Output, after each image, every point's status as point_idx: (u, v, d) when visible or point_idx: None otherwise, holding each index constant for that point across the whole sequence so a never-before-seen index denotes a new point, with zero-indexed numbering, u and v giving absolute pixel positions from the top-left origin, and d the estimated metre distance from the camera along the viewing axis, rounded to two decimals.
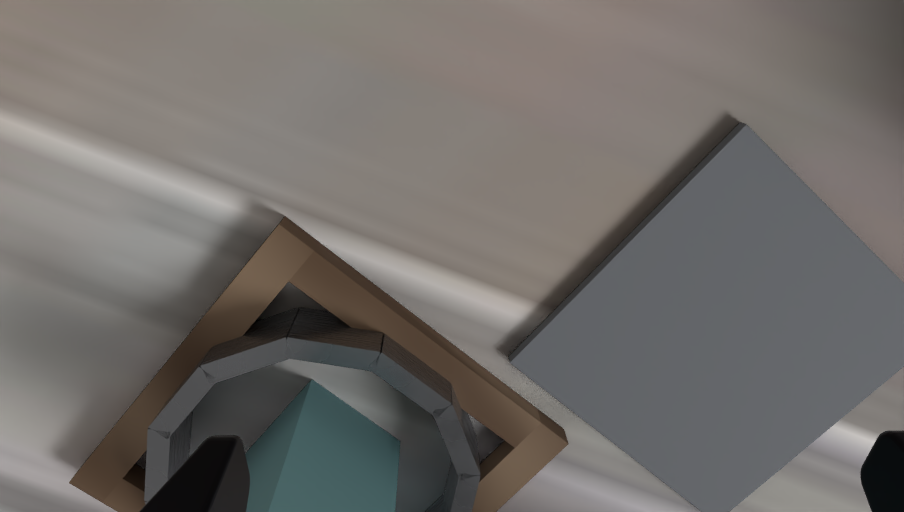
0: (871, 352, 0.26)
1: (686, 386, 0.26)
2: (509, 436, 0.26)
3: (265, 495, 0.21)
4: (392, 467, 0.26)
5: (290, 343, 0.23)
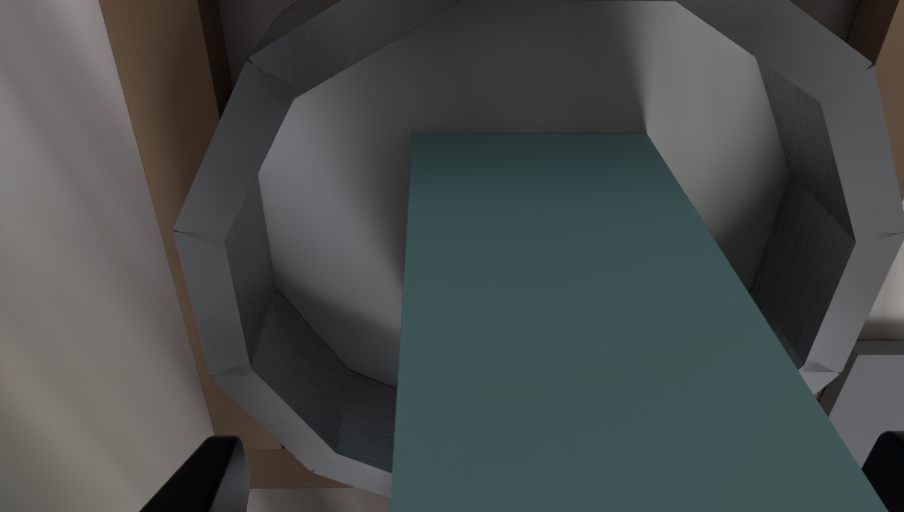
0: None
1: None
2: None
3: (730, 352, 0.08)
4: None
5: (860, 80, 0.10)
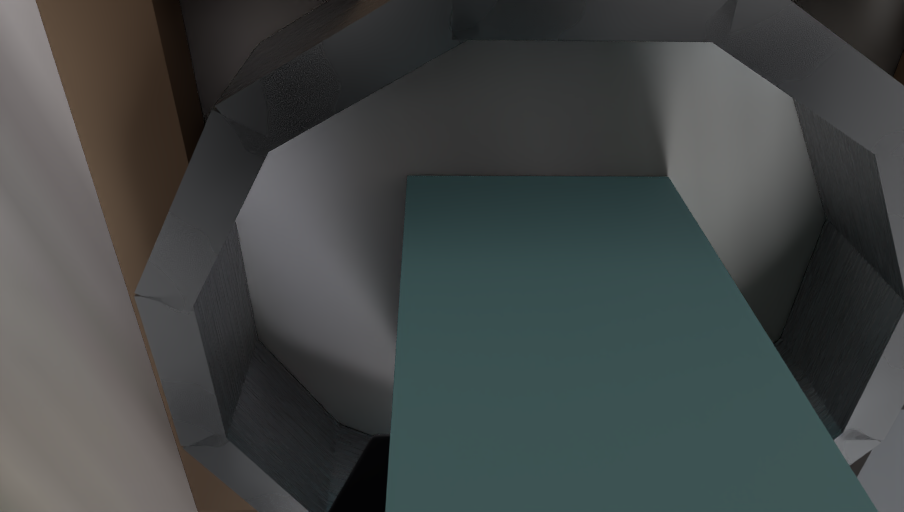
0: None
1: None
2: None
3: (786, 473, 0.06)
4: None
5: None
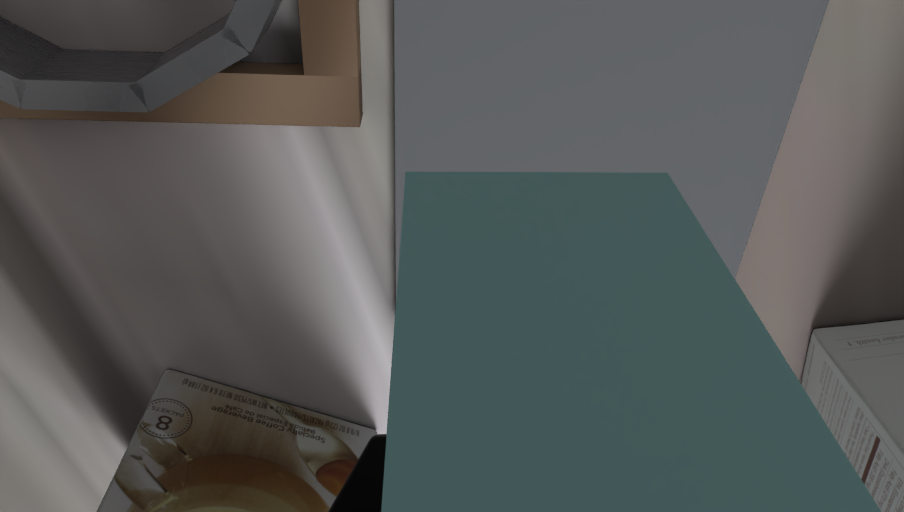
0: None
1: None
2: (311, 56, 0.19)
3: (785, 468, 0.06)
4: None
5: None
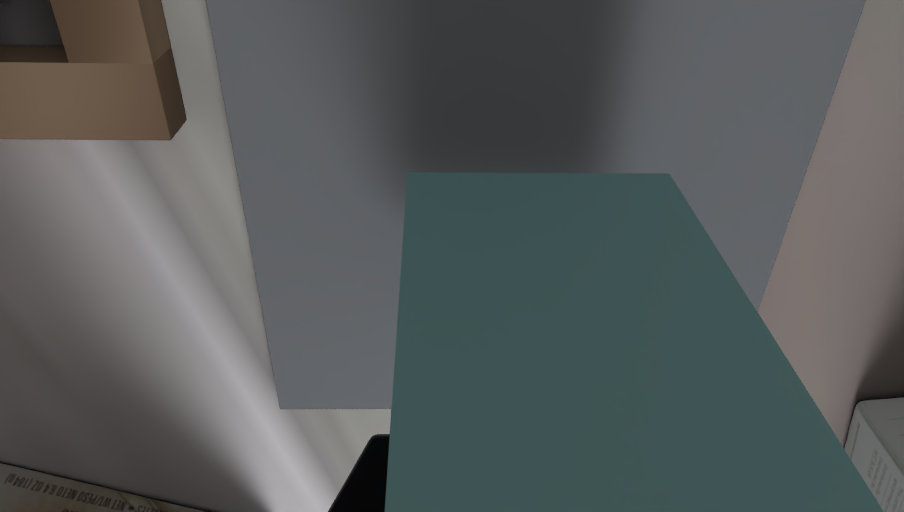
0: None
1: None
2: (74, 33, 0.12)
3: (789, 469, 0.06)
4: None
5: None
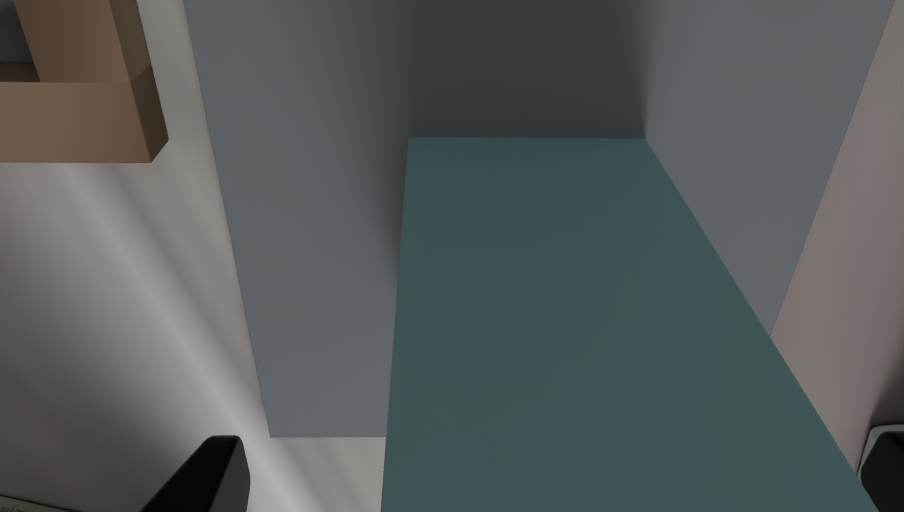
0: None
1: None
2: (45, 51, 0.11)
3: (729, 364, 0.08)
4: None
5: None
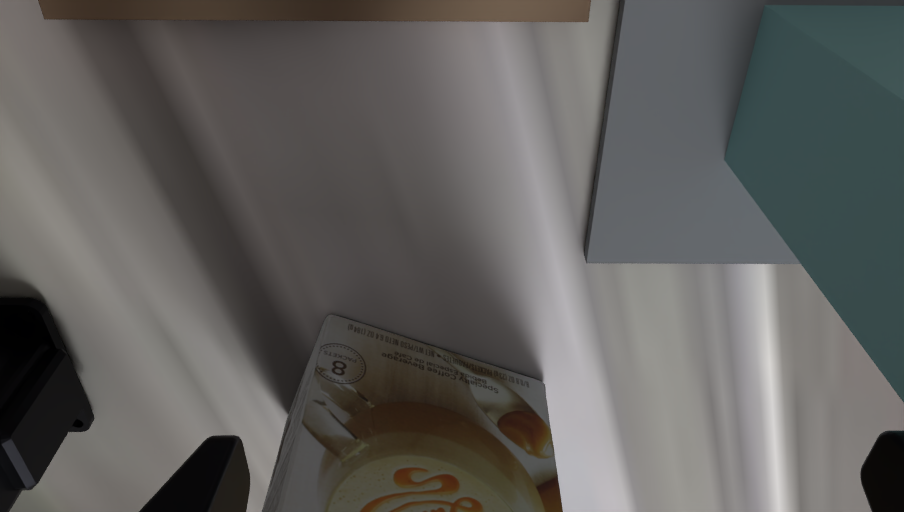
0: None
1: (741, 91, 0.19)
2: None
3: None
4: None
5: None
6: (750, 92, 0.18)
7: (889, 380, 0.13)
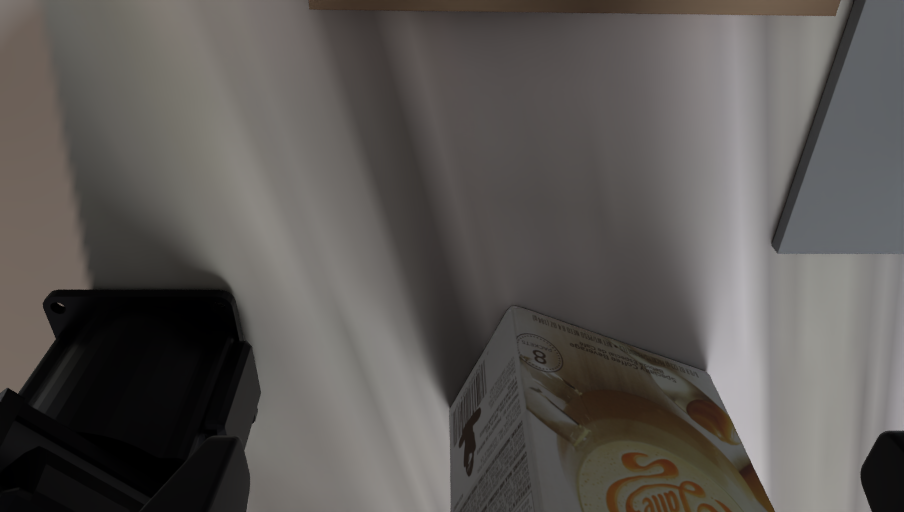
0: None
1: None
2: None
3: None
4: None
5: None
6: None
7: None
